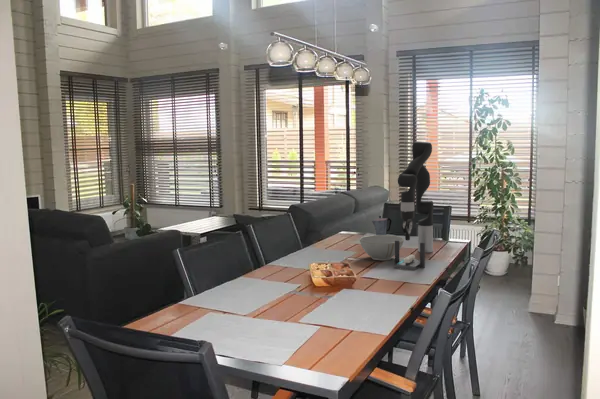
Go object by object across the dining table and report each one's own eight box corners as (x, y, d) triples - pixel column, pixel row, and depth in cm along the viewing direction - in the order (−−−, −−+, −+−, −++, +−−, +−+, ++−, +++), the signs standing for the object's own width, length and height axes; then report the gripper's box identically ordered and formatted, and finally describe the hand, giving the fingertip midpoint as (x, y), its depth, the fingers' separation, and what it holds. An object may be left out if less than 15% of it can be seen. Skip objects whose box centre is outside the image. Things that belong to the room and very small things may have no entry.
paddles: (409, 258, 299) (409, 254, 299) (414, 259, 298) (414, 255, 297) (404, 262, 291) (404, 258, 291) (409, 262, 289) (409, 258, 289)
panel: (404, 262, 304) (404, 257, 304) (424, 264, 298) (424, 259, 298) (394, 267, 291) (394, 263, 291) (415, 270, 285) (415, 265, 284)
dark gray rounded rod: (395, 263, 300) (395, 240, 299) (400, 264, 299) (400, 240, 297) (394, 264, 298) (394, 241, 296) (398, 265, 297) (398, 241, 295)
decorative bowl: (403, 263, 300) (403, 243, 299) (357, 262, 306) (357, 242, 304) (403, 253, 326) (403, 235, 325) (361, 253, 332) (361, 234, 331)
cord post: (420, 266, 292) (420, 242, 291) (425, 267, 291) (425, 242, 290) (419, 267, 290) (419, 243, 289) (423, 268, 289) (423, 243, 287)
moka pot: (368, 243, 362) (368, 215, 359) (387, 241, 368) (387, 213, 366) (376, 246, 353) (376, 217, 351) (395, 243, 359) (394, 215, 357)
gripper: (405, 208, 296) (405, 237, 298) (396, 211, 285) (397, 241, 287) (417, 208, 292) (417, 238, 294) (410, 211, 281) (410, 242, 283)
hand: (407, 240), depth 290 cm, fingers closed
